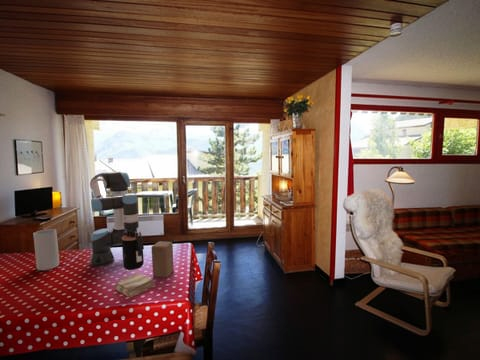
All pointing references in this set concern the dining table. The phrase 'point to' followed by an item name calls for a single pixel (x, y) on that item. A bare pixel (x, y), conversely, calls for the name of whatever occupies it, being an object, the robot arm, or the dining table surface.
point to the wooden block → (162, 259)
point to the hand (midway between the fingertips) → (133, 259)
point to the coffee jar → (130, 253)
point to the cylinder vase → (46, 249)
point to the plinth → (134, 285)
